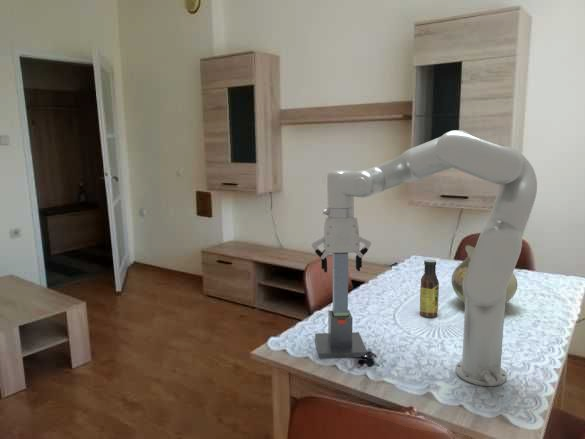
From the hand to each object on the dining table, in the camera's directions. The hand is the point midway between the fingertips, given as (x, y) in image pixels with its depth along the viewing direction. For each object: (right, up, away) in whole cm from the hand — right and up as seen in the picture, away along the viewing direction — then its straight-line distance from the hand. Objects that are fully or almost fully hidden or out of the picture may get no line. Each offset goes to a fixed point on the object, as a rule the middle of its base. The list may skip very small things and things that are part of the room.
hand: (341, 270), depth 138 cm
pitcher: (+56, -18, +37) cm, 69 cm away
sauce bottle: (+34, -19, +29) cm, 49 cm away
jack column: (0, -16, +3) cm, 17 cm away
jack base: (0, -24, +4) cm, 24 cm away
